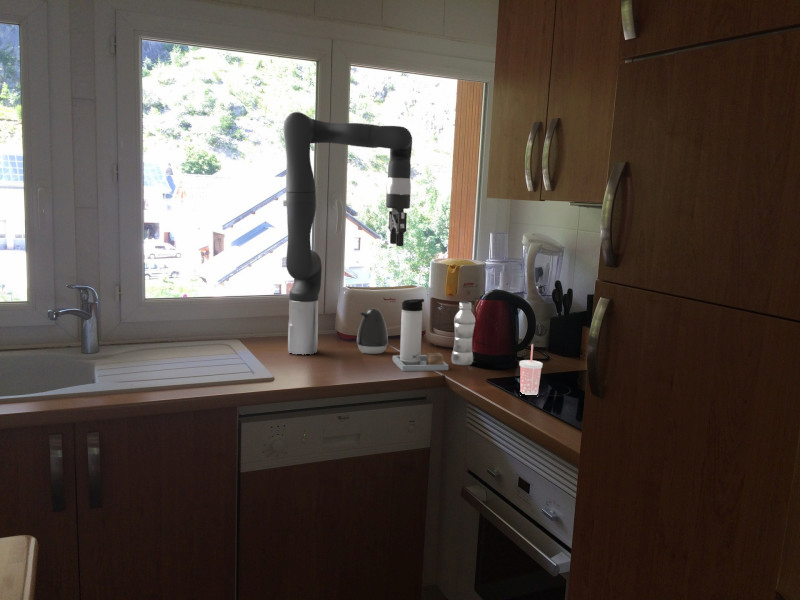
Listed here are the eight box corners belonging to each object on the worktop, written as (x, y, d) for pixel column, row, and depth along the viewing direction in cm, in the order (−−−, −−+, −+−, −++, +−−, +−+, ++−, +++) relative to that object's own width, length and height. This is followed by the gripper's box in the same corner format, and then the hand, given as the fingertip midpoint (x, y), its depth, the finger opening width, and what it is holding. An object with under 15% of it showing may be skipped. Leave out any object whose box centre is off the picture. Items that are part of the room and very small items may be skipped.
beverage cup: (537, 392, 183) (541, 342, 180) (542, 399, 177) (546, 347, 174) (515, 391, 182) (518, 341, 180) (519, 398, 176) (523, 346, 174)
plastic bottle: (452, 362, 212) (455, 300, 209) (473, 364, 211) (477, 301, 208) (449, 367, 206) (453, 303, 203) (471, 369, 205) (475, 304, 202)
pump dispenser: (349, 352, 220) (350, 307, 218) (373, 349, 227) (375, 304, 225) (369, 359, 212) (371, 311, 210) (393, 355, 219) (395, 309, 217)
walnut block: (429, 369, 199) (430, 356, 198) (426, 365, 203) (426, 352, 202) (442, 368, 200) (443, 355, 199) (438, 365, 204) (439, 352, 203)
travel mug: (419, 366, 201) (422, 300, 198) (397, 364, 202) (400, 299, 199) (422, 361, 207) (425, 297, 204) (401, 360, 209) (404, 296, 205)
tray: (402, 374, 196) (402, 366, 195) (392, 363, 208) (392, 355, 208) (448, 373, 199) (448, 365, 199) (435, 362, 211) (436, 354, 211)
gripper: (382, 192, 215) (380, 243, 218) (391, 192, 202) (389, 246, 204) (404, 193, 217) (402, 243, 220) (416, 193, 203) (413, 247, 206)
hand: (396, 244), depth 212 cm, fingers open, 8 cm apart
